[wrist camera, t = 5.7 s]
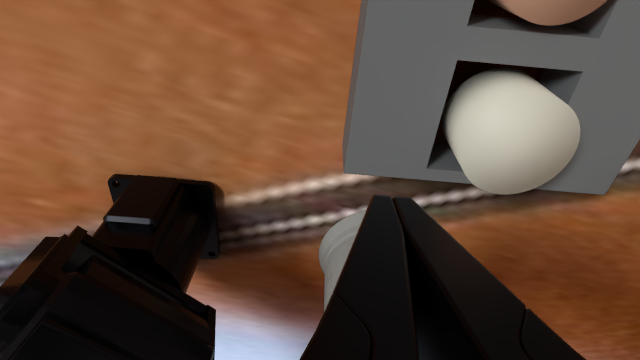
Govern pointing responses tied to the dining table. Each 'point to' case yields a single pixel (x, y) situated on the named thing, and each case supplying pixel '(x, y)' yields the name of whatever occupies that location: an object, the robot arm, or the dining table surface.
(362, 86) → the console
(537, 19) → the terracotta button
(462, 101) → the cream button
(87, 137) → the dining table surface
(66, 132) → the dining table surface
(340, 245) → the grey handled cylinder
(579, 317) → the dining table surface
